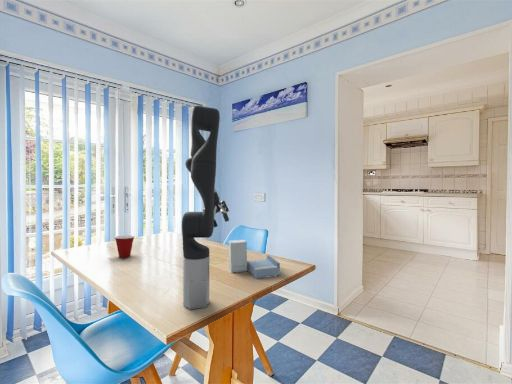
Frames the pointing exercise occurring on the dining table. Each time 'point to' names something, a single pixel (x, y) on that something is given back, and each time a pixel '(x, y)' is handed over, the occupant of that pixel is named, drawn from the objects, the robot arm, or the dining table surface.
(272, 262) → the tray
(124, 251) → the plastic cup
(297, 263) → the dining table surface
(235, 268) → the skincare box
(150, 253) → the dining table surface
